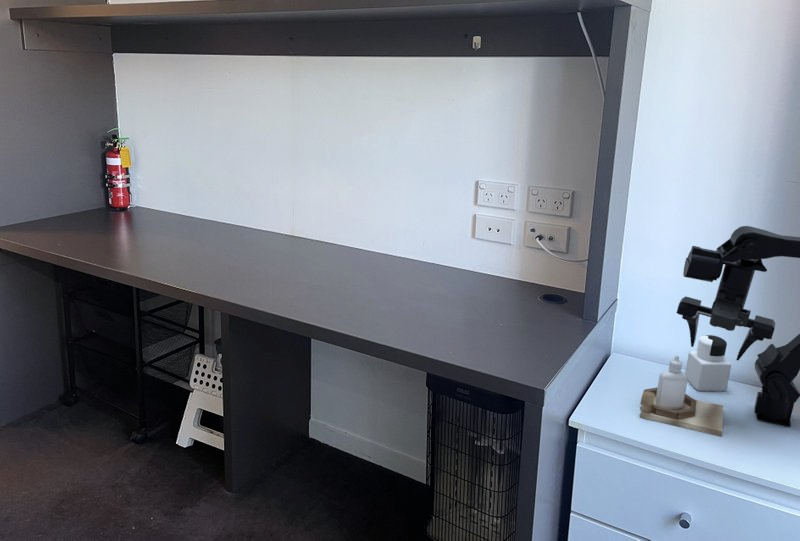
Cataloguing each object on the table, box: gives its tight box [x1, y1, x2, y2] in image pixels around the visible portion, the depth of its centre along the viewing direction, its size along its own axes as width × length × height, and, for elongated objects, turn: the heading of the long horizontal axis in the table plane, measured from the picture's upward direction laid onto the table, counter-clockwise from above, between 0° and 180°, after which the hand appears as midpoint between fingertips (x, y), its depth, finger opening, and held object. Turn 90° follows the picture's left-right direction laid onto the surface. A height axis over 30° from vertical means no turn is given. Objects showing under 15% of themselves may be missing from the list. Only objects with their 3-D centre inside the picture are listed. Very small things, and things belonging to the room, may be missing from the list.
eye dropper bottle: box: [655, 355, 688, 409], centre depth 144 cm, size 4×6×12 cm
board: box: [639, 387, 724, 437], centre depth 145 cm, size 16×12×5 cm
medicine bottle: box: [684, 334, 732, 392], centre depth 157 cm, size 7×7×12 cm
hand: (714, 353), depth 144 cm, fingers open, 9 cm apart
